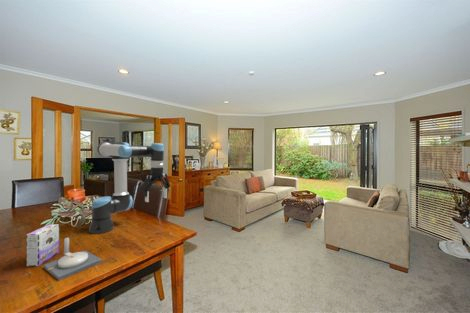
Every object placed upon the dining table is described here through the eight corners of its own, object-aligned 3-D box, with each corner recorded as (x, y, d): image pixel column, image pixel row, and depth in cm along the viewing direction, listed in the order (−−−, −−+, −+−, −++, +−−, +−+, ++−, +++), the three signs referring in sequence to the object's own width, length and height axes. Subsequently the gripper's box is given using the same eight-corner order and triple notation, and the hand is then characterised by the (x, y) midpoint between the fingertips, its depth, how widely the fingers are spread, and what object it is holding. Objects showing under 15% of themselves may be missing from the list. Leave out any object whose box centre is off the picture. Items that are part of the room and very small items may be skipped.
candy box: (48, 252, 115) (48, 223, 115) (59, 252, 116) (59, 223, 115) (25, 266, 102) (25, 233, 101) (38, 266, 102) (38, 233, 102)
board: (41, 267, 101) (41, 264, 101) (84, 252, 117) (84, 249, 117) (57, 281, 91) (57, 277, 91) (101, 262, 107) (101, 258, 107)
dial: (51, 261, 104) (51, 242, 103) (78, 251, 114) (79, 234, 114) (64, 271, 96) (64, 250, 96) (92, 259, 106) (92, 240, 106)
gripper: (142, 168, 120) (141, 204, 120) (176, 166, 140) (175, 197, 141) (135, 167, 124) (134, 202, 124) (169, 165, 145) (168, 195, 145)
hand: (156, 199), depth 133 cm, fingers open, 13 cm apart
